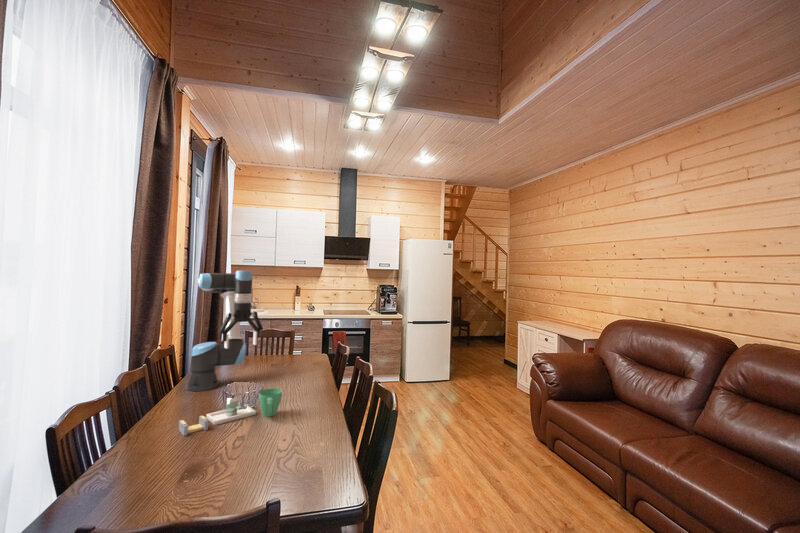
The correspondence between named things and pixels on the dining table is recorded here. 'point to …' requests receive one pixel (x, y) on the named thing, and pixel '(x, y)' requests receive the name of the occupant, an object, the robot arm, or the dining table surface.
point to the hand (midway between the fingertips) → (240, 346)
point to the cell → (231, 406)
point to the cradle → (185, 429)
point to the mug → (270, 401)
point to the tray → (222, 418)
